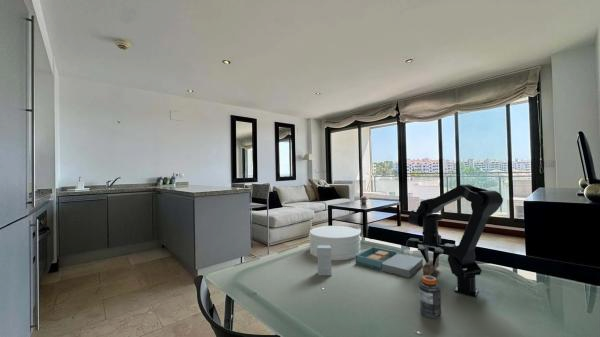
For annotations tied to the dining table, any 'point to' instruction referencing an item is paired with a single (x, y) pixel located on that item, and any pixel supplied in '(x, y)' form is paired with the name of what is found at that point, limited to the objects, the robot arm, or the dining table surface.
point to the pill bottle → (430, 297)
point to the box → (372, 263)
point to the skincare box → (324, 259)
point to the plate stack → (336, 241)
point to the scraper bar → (430, 267)
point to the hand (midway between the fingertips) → (431, 265)
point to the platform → (402, 265)
